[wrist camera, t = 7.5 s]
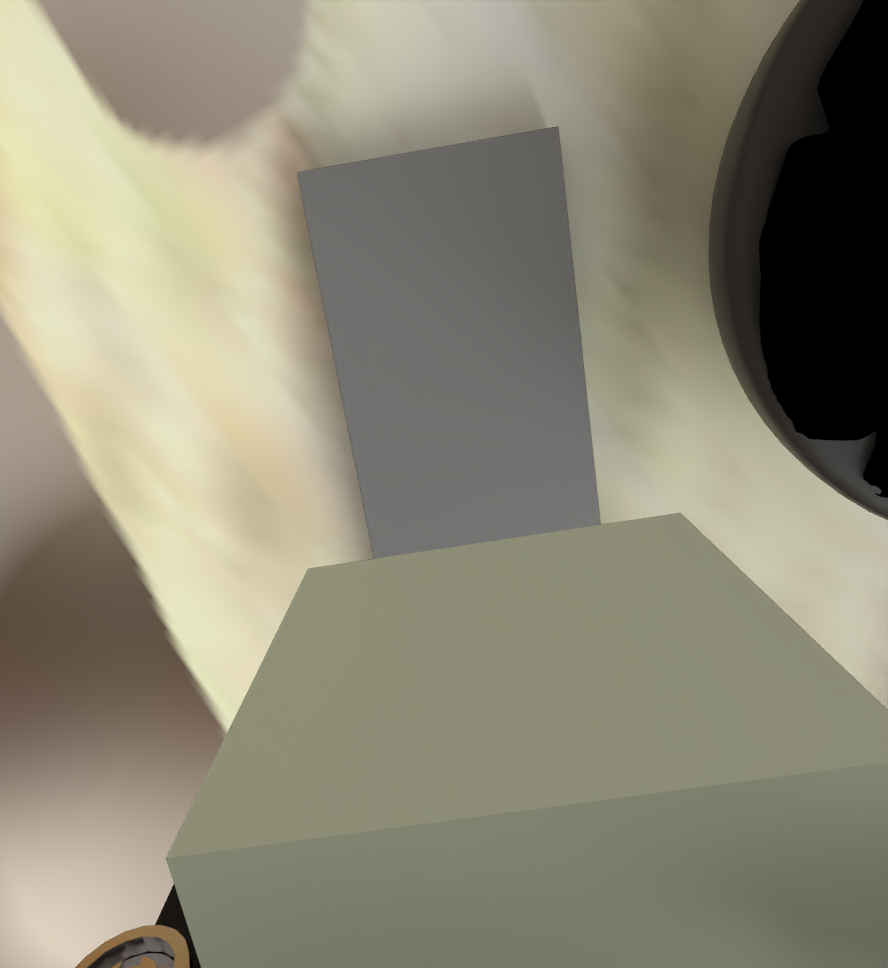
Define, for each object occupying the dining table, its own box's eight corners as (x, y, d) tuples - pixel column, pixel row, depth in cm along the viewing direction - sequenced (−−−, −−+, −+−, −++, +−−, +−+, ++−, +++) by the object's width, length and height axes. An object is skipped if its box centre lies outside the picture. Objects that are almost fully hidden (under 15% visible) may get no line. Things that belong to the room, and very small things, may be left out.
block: (680, 512, 11) (936, 755, 5) (703, 825, 13) (921, 1276, 7) (307, 568, 11) (166, 857, 6) (376, 869, 13) (320, 1336, 7)
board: (550, 137, 28) (558, 126, 26) (608, 665, 35) (617, 687, 33) (306, 180, 29) (296, 172, 27) (408, 694, 35) (405, 717, 33)
